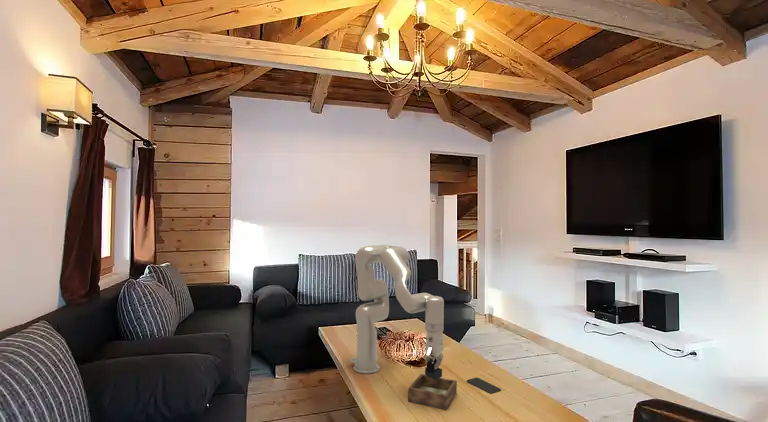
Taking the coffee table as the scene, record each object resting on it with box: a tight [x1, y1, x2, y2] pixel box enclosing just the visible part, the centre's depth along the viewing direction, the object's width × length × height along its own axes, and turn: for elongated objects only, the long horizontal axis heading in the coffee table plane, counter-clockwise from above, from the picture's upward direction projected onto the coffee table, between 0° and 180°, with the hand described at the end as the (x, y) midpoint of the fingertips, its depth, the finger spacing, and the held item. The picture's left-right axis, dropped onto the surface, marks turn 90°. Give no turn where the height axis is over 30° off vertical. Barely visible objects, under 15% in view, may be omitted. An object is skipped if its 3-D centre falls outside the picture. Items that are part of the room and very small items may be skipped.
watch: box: [424, 352, 444, 379], centre depth 172 cm, size 6×8×11 cm
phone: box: [466, 377, 502, 395], centre depth 185 cm, size 7×1×15 cm
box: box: [407, 373, 458, 411], centre depth 172 cm, size 16×16×6 cm
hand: (433, 368), depth 172 cm, fingers closed on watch, 8 cm apart
